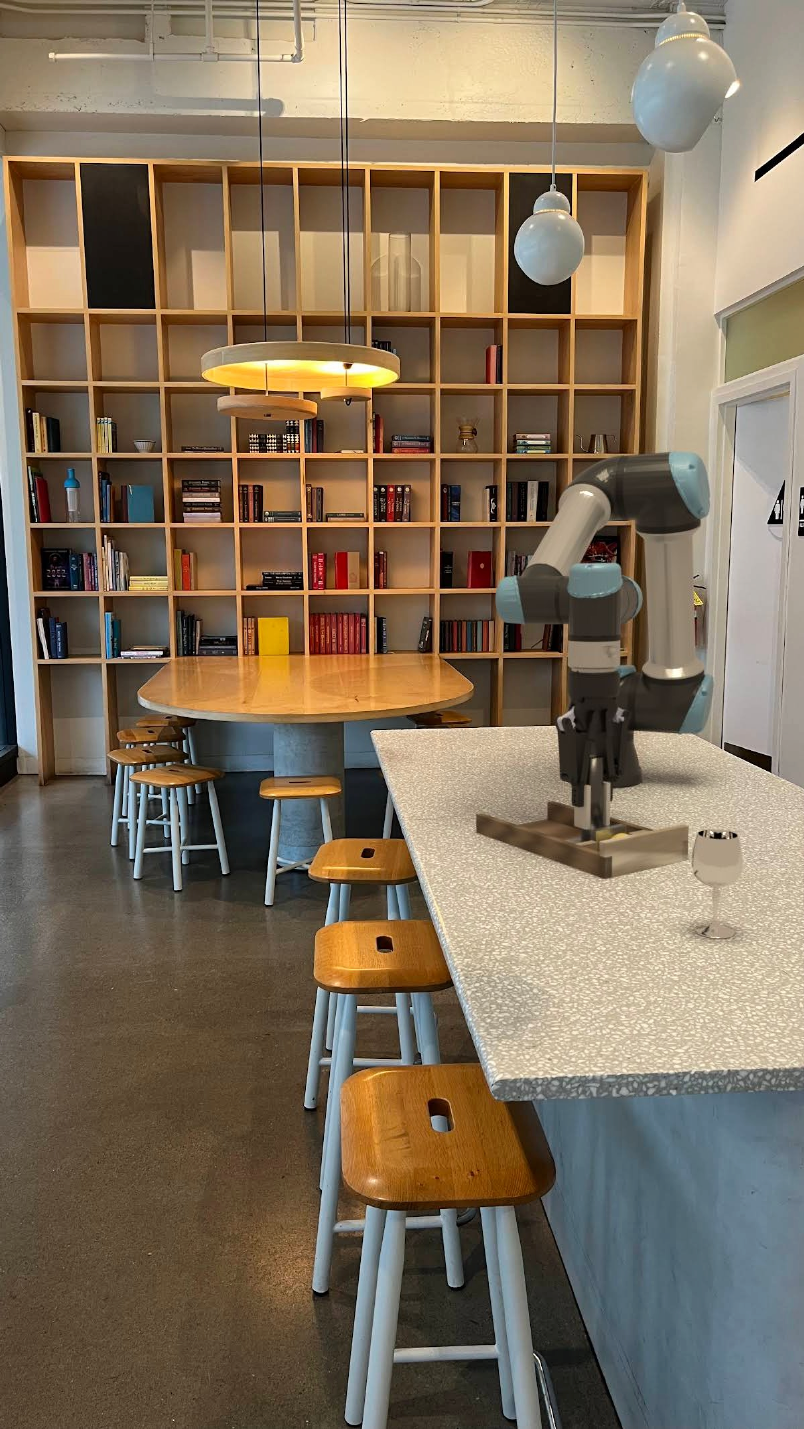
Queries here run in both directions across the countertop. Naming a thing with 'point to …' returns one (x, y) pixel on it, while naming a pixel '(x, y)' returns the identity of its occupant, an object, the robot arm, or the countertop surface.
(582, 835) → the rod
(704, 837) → the wineglass
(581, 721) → the robot arm
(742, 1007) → the countertop surface
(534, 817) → the countertop surface
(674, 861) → the lane
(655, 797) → the countertop surface
